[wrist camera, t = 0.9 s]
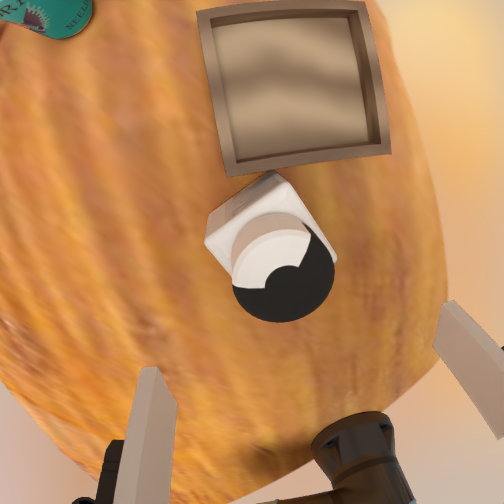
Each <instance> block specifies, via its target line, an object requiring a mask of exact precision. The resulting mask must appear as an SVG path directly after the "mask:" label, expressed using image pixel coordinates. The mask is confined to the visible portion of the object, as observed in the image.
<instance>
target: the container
mask: <svg viewBox="0 0 504 504" xmlns="http://www.w3.org/2000/svg"><path fill="white" fill-rule="evenodd" d="M204 244H205V246H206V247H207V248H208V250H209V251H210V252H211V253H212V254H213V256H214V257H215V258H216V259H217V260H218V261H219V263H220V264H221V265H222V266H223V267H224V269H225V270H226V271H227V272H228V273H229V274H230V276H231V277H232V286H233V291H234V294H235V297H236V299H237V300H238V302H239V304H240V305H241V306H242V307H243V308H244V309H245V310H246V311H247V312H248V313H249V314H251V315H252V316H254V317H256V318H258V319H261V320H264V321H268V322H276V323H279V322H290V321H294V320H297V319H300V318H302V317H304V316H306V315H308V314H310V313H311V312H313V311H314V310H315V309H317V308H318V307H319V306H320V305H321V304H322V303H323V302H324V300H325V299H326V297H327V296H328V294H329V292H330V290H331V288H332V285H333V281H334V274H335V269H334V263H335V262H336V261H337V255H336V253H335V252H334V250H333V248H332V247H331V245H330V244H329V242H328V240H327V239H326V237H325V236H324V234H323V232H322V231H321V229H320V228H319V226H318V225H317V223H316V222H315V220H314V219H313V217H312V215H311V214H310V212H309V211H308V209H307V208H306V206H305V205H304V203H303V202H302V200H301V199H300V197H299V196H298V194H297V193H296V191H295V190H294V188H293V187H292V185H291V184H290V183H289V182H287V181H286V180H285V179H284V178H283V177H282V176H281V175H279V174H278V173H277V172H276V171H275V170H270V171H268V172H267V173H265V174H264V175H262V176H261V177H260V178H258V179H257V180H255V181H254V182H252V183H251V184H250V185H248V186H247V187H245V188H244V189H243V190H241V191H240V192H238V193H237V194H236V195H234V196H233V197H232V198H230V199H229V200H227V201H226V202H225V203H223V204H222V205H221V206H219V207H218V208H216V209H215V210H214V211H212V212H211V213H210V214H209V215H208V221H207V227H206V232H205V238H204Z"/></svg>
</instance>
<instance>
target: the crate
mask: <svg viewBox="0 0 504 504" xmlns="http://www.w3.org/2000/svg"><path fill="white" fill-rule="evenodd" d="M196 15H197V21H198V27H199V32H200V38H201V43H202V49H203V54H204V60H205V65H206V71H207V76H208V81H209V87H210V92H211V98H212V103H213V108H214V113H215V119H216V124H217V129H218V135H219V140H220V145H221V150H222V156H223V161H224V166H225V171H226V176H227V178H228V177H233V176H239V175H244V174H250V173H255V172H261V171H267V170H273V169H279V168H285V167H291V166H298V165H304V164H311V163H318V162H326V161H333V160H341V159H349V158H358V157H367V156H376V155H386V154H392V153H391V142H390V132H389V123H388V115H387V108H386V101H385V94H384V87H383V81H382V76H381V70H380V65H379V59H378V54H377V50H376V45H375V40H374V36H373V32H372V27H371V23H370V19H369V15H368V12H367V8H366V4H365V2H362V1H348V0H279V1H265V2H254V3H245V4H237V5H229V6H223V7H216V8H210V9H205V10H200V11H196Z"/></svg>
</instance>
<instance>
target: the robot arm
mask: <svg viewBox="0 0 504 504" xmlns="http://www.w3.org/2000/svg"><path fill="white" fill-rule="evenodd" d="M433 348H434V349H435V351H436V352H437V353H438V355H439V356H440V357H441V359H442V360H443V361H444V363H445V364H446V365H447V367H448V368H449V369H450V370H451V372H452V373H453V374H454V376H455V377H456V379H457V380H458V381H459V383H460V384H461V386H462V387H463V389H464V390H465V391H466V393H467V394H468V396H469V397H470V399H471V400H472V401H473V403H474V404H475V406H476V407H477V409H478V410H479V412H480V413H481V415H482V416H483V418H484V419H485V421H486V422H487V424H488V425H489V427H490V428H491V430H492V432H493V433H494V435H495V436H496V438H497V439H498V440H499V439H501V438H502V437H504V346H503V347H501V348H500V347H499V346H498V345H497V343H496V342H495V341H494V340H493V339H492V338H491V337H490V336H489V335H488V334H487V333H486V332H485V331H484V330H483V329H482V328H481V326H479V325H478V323H477V322H476V321H475V320H473V318H472V317H471V316H469V314H468V313H467V312H466V311H465V310H464V309H463V308H462V307H461V306H460V305H458V304H457V303H456V302H455V301H454V300H452V301H449V302H446V303H443V304H442V306H441V312H440V317H439V322H438V326H437V331H436V335H435V340H434V344H433ZM177 407H178V405H177V403H176V401H175V399H174V397H173V395H172V394H171V392H170V390H169V388H168V386H167V384H166V382H165V380H164V378H163V376H162V374H161V372H160V370H159V368H158V366H156V367H146V368H142V369H141V372H140V376H139V380H138V384H137V388H136V392H135V397H134V401H133V405H132V409H131V414H130V418H129V423H128V427H127V432H126V436H125V440H112V442H111V443H110V445H109V446H108V448H107V449H106V452H105V456H104V463H103V465H102V472H101V474H100V479H99V484H98V490H97V494H96V499H95V500H93V499H91V498H89V497H81V498H78V499H76V500H75V501H74V502H72V504H170V489H171V474H172V461H173V449H174V437H175V427H176V416H177ZM311 449H312V453H313V457H314V459H315V461H316V463H317V464H318V465H319V466H320V468H321V469H322V470H323V472H324V473H325V474H326V476H327V477H328V478H329V480H330V481H331V484H332V487H333V490H332V491H328V492H322V493H318V494H314V495H309V496H303V497H298V498H292V499H286V500H279V499H276V500H275V501H270V502H264V503H258V504H416V499H415V498H414V496H413V494H412V491H411V489H410V487H409V485H408V482H407V480H406V478H405V476H404V473H403V471H402V469H401V467H400V465H399V463H398V460H397V458H396V455H395V439H394V428H393V425H392V423H391V421H390V419H389V417H388V416H387V415H385V414H384V413H380V412H366V413H361V414H357V415H353V416H350V417H347V418H345V419H342V420H340V421H338V422H336V423H334V424H332V425H331V426H329V427H328V428H326V429H325V430H323V431H322V432H321V433H320V434H319V435H318V436H317V437H316V438H315V439H314V441H313V443H312V446H311Z"/></svg>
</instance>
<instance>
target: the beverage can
mask: <svg viewBox="0 0 504 504" xmlns="http://www.w3.org/2000/svg"><path fill="white" fill-rule="evenodd" d="M91 15H92V2H91V0H0V19H2V20H4V21H7V22H10V23H13V24H16V25H18V26H21V27H24V28H26V29H29V30H32V31H34V32H37V33H39V34H42V35H44V36H47V37H49V38H52V39H62V38H67V37H71V36H73V35H75V34H77V33H79V32H80V31H81V30H82V29H83V28H84V27H85V26H86V25H87V24H88V22H89V20H90V18H91Z"/></svg>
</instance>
